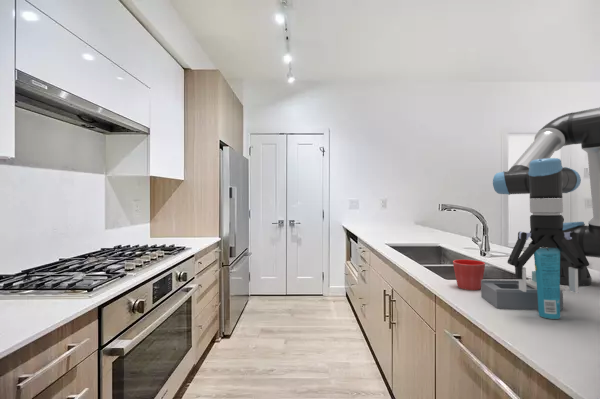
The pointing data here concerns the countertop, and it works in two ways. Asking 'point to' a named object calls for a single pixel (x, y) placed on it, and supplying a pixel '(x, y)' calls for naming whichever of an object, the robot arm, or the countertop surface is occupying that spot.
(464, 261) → the flower pot
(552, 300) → the tube
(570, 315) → the countertop surface
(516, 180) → the robot arm
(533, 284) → the panel
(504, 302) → the socket
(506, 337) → the countertop surface
